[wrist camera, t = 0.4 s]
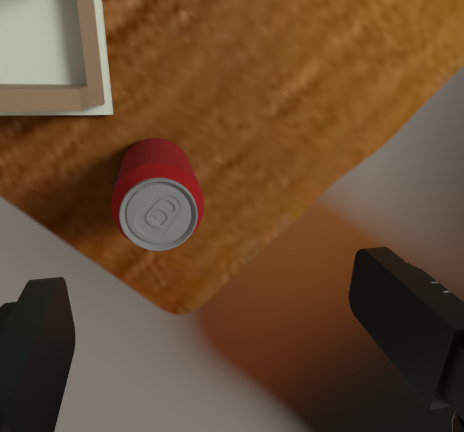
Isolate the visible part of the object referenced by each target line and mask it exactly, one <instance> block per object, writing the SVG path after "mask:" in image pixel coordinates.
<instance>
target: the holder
mask: <svg viewBox="0 0 464 432" xmlns="http://www.w3.org/2000/svg"><path fill="white" fill-rule="evenodd" d="M7 115H113V106H112V96H111V86H110V76H109V66H108V57H107V47H106V37H105V27H104V17H103V7H102V0H0V116H7Z"/></svg>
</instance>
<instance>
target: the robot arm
mask: <svg viewBox="0 0 464 432" xmlns="http://www.w3.org/2000/svg"><path fill="white" fill-rule="evenodd" d="M349 303H350V307H351V310H352V312H353V314H354V316H355V317H356V318H357V319H358V321H359V322H360V323H361V325H362V326H363V327H364V328H365V330H366V331H367V332H368V333H369V335H370V336H371V337H372V338H373V340H374V341H375V342H376V343H377V345H378V346H379V347H380V348H381V349H382V351H383V352H384V353H385V355H386V356H387V357H388V358H389V360H390V361H391V362H392V363H393V365H394V366H395V367H396V369H397V370H398V371H399V372H400V374H401V375H402V376H403V377H404V379H405V380H406V381H407V382H408V384H409V385H410V386H411V387H412V389H413V390H414V391H415V392H416V394H417V395H418V396H419V397H420V399H421V400H422V401H423V402H424V404H425V405H426V406H427V407H428V409H429V410H433V409H438V408H443V407H448V406H451V407H452V409H453V410H454V411H455V414H454V417H453V420H452V431H453V432H464V302H463V301H462V300H460V299H459V298H458V297H457V296H455V295H454V294H453V293H449V290H448V289H446V288H445V287H444V286H443V285H441V284H440V283H439V284H438V283H437V281H436V280H435V279H434V278H432V277H431V276H430V275H428V274H427V273H426V272H424V271H423V270H421V269H419V268H417V267H415V266H413V265H411V264H409V263H406V262H405V261H404V260H403V259H401V258H400V257H399V256H397V255H396V254H395V253H394V252H392V251H391V250H390V249H389V248H387V247H377V248H368V249H360V250H359V251H357V253H356V256H355V261H354V267H353V273H352V279H351V284H350V290H349ZM74 349H75V327H74V321H73V316H72V311H71V306H70V301H69V297H68V291H67V286H66V282H65V280H64V278H63V277H57V278H46V279H36V280H29V281H28V282H27V284H26V286H25V288H24V290H23V291H22V293H21V295H20V297H19V299H18V301H17V302H12V303H5V304H4V305H2V306H1V307H0V432H54V430H55V426H56V422H57V418H58V414H59V410H60V406H61V402H62V398H63V394H64V390H65V386H66V382H67V378H68V374H69V370H70V366H71V362H72V358H73V354H74Z"/></svg>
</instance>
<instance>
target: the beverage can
mask: <svg viewBox="0 0 464 432" xmlns="http://www.w3.org/2000/svg"><path fill="white" fill-rule="evenodd" d="M203 212H204V199H203V195H202V192H201V189H200V187H199V184H198V181H197V179H196V176H195V174H194V172H193V169H192V167H191V165H190V163H189V161H188V158H187V157H186V155H185V153H184V152H183V151H182V150H181V149H180V148H179V147H178V146H177V145H175V144H174V143H172V142H170V141H167V140H164V139H158V138H151V139H146V140H142V141H140V142H138V143H136V144H135V145H133V146H132V147H131V148H130V149H129V150H128V151H127V152H126V154H125V155H124V157H123V159H122V162H121V165H120V168H119V171H118V175H117V179H116V182H115V186H114V190H113V194H112V199H111V213H112V217H113V220H114V223H115V225H116V227H117V228H118V230H119V231H120V232H121V233H122V234H123V235H124V236H125V237H126V238H127V239H128V240H130V241H131V242H133V243H134V244H136V245H138V246H140V247H142V248H145V249H148V250H154V251H162V250H168V249H172V248H174V247H176V246H179V245H180V244H182V243H183V242H184V241H186V240H187V239H188V238H189V237H190V236H191V235H192V234H193V233H194V232H195V230H196V229H197V228H198V226H199V224H200V222H201V220H202V217H203Z"/></svg>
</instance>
